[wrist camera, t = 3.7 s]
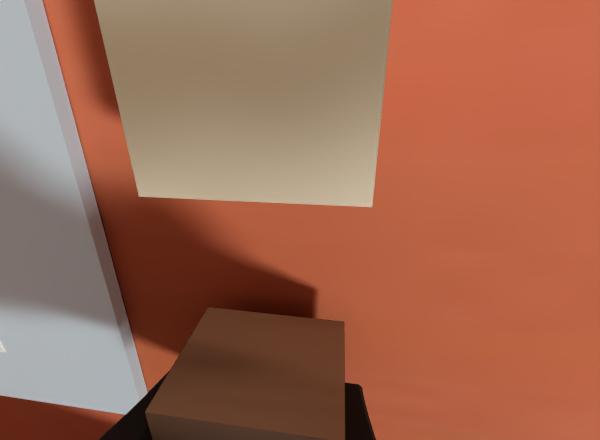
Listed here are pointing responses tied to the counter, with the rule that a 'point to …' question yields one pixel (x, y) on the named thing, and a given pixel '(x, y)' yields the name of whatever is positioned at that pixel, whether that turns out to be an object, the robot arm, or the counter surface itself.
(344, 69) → the maple block
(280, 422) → the walnut block
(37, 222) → the board
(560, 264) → the counter surface
